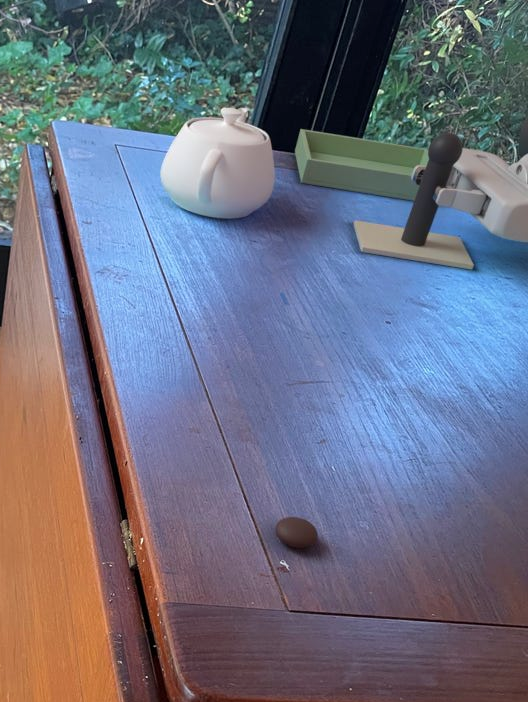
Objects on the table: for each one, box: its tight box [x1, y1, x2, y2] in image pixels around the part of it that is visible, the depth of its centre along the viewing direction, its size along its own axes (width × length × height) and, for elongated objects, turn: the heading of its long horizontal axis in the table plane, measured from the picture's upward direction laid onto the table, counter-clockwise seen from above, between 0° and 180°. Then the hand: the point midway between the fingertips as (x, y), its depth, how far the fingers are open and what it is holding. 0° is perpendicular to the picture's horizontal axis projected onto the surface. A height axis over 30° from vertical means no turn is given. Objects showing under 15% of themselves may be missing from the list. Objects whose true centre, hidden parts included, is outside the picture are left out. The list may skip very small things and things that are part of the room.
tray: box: [294, 128, 429, 202], centre depth 136 cm, size 18×14×3 cm
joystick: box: [353, 132, 475, 271], centre depth 114 cm, size 13×9×13 cm
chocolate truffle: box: [274, 516, 318, 549], centre depth 70 cm, size 3×3×2 cm
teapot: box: [159, 107, 276, 219], centre depth 118 cm, size 22×14×11 cm, turn 162°
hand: (425, 184), depth 114 cm, fingers open, 5 cm apart
